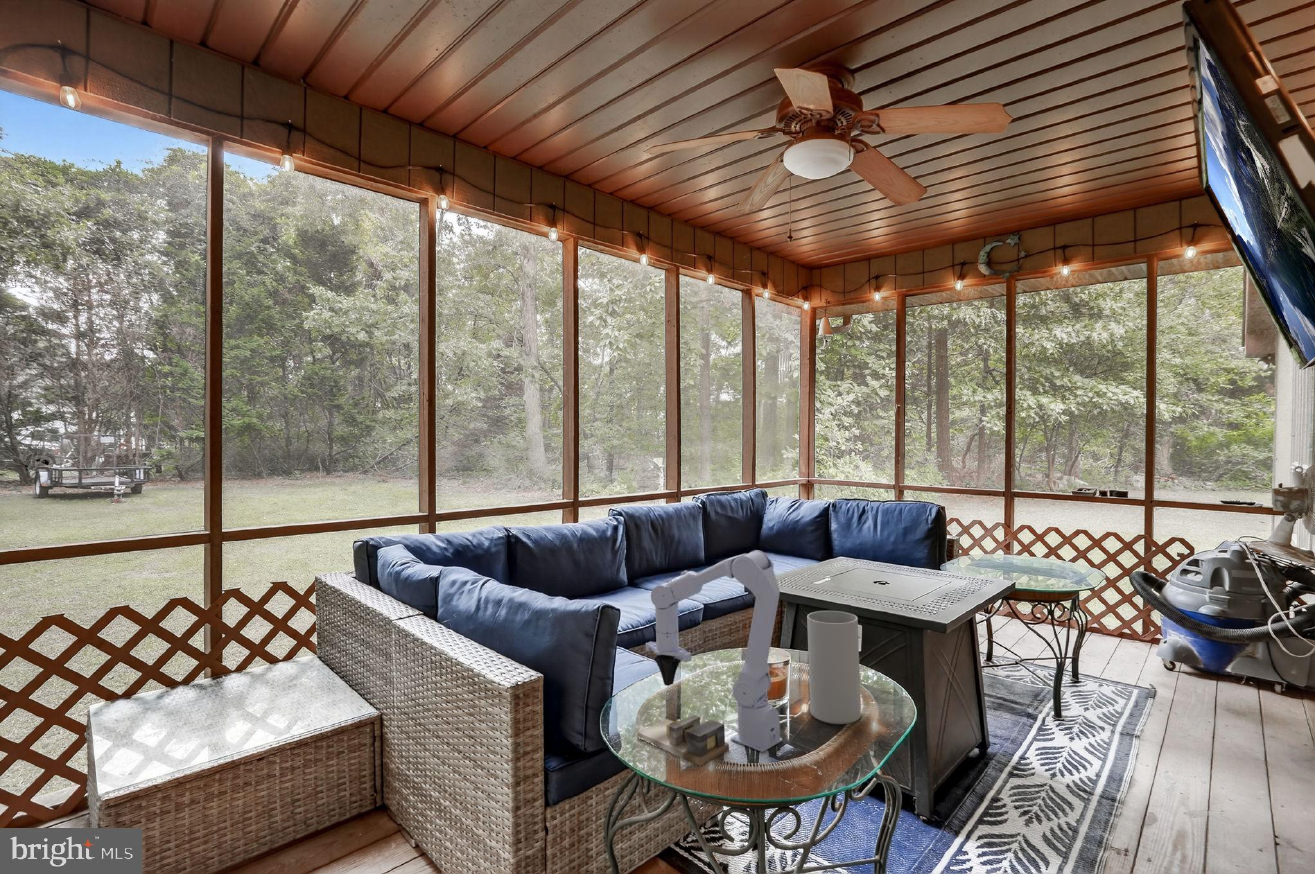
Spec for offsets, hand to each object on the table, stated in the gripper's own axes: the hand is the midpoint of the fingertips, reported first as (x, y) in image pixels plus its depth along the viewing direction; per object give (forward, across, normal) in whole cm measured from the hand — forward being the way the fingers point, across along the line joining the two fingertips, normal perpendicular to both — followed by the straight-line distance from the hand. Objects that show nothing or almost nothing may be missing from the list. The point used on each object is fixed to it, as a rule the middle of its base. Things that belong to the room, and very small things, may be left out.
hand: (668, 684), depth 163 cm
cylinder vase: (+10, +29, +31) cm, 44 cm away
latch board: (+9, +11, -7) cm, 16 cm away
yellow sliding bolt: (+8, +14, -7) cm, 17 cm away
